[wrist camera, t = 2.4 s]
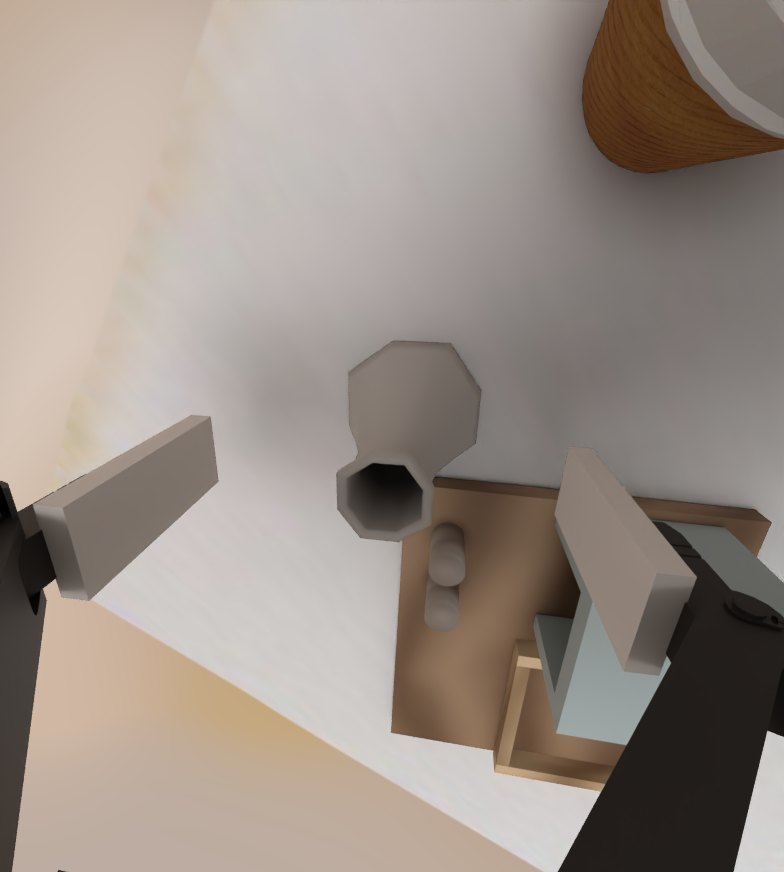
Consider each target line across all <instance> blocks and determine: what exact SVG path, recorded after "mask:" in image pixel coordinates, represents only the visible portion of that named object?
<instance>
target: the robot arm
mask: <svg viewBox="0 0 784 872" xmlns="http://www.w3.org/2000/svg"><path fill="white" fill-rule="evenodd" d="M217 482H218V473H217V465H216V457H215V448H214V440H213V432H212V424H211V417H209V416H197V415H191V416H189V417H187V418H185V419H183V420H182V421H180V422H178V423H176V424H175V425H173V426H171V427H169V428H168V429H166V430H164V431H162V432H160V433H159V434H157V435H155V436H153V437H152V438H150V439H148V440H146V441H144V442H143V443H141V444H139V445H137V446H136V447H134V448H132V449H130V450H128V451H127V452H125V453H123V454H121V455H120V456H118V457H116V458H114V459H113V460H111V461H109V462H107V463H105V464H104V465H102V466H100V467H98V468H97V469H95V470H93V471H91V472H89V473H88V474H85V475H83V476H81V477H79V478H77V479H76V480H74V481H72V482H70V483H69V484H68V485H65V486H63V487H61V488H60V489H58V490H57V491H56V492H52V493H51V494H49V495H47V496H45V497H44V498H42V499H40V500H38V501H36V502H35V503H33V504H31V505H29V506H28V507H26V508H24V509H22V510H20V511H19V512H17V510H16V507H15V504H14V501H13V497H12V494H11V492H10V488H9V485H8V483H5V482H3V481H0V872H12V866H13V858H14V851H15V842H16V835H17V827H18V820H19V812H20V803H21V796H22V787H23V781H24V773H25V764H26V757H27V749H28V741H29V734H30V726H31V718H32V709H33V702H34V695H35V687H36V679H37V670H38V663H39V656H40V648H41V640H42V632H43V624H44V616H45V608H46V601H47V600H46V597H45V594H44V591H43V588H44V587H45V586H47V585H48V584H49V583H50V582H52V581H53V580H54V579H56V581H57V584H58V587H59V590H60V594H61V597H63V598H71V599H79V600H86V601H89V600H90V599H91V598H93V597H94V596H95V595H96V594H97V593H98V592H99V591H100V590H101V589H102V588H103V587H105V586H106V585H107V584H108V583H109V582H110V581H111V580H112V579H113V578H114V577H115V576H116V575H118V574H119V573H120V572H121V571H122V570H123V569H124V568H125V567H126V566H127V565H128V564H129V563H131V562H132V561H133V560H134V559H135V558H136V557H137V556H138V555H139V554H140V553H141V552H143V551H144V550H145V549H146V548H147V547H148V546H149V545H150V544H151V543H152V542H153V541H154V540H156V539H157V538H158V537H159V536H160V535H161V534H162V533H163V532H164V531H165V530H166V529H167V528H169V527H170V526H171V525H172V524H173V523H174V522H175V521H176V520H177V519H178V518H179V517H181V516H182V515H183V514H184V513H185V512H186V511H187V510H188V509H189V508H190V507H191V506H192V505H194V504H195V503H196V502H197V501H198V500H199V499H200V498H201V497H202V496H203V495H204V494H205V493H207V492H208V491H209V490H210V489H211V488H212V487H213V486H214V485H215V484H216V483H217ZM554 515H555V517H556V519H557V522H558V524H559V526H560V528H561V531H562V533H563V535H564V537H565V540H566V542H567V544H568V547H569V549H570V551H571V553H572V556H573V558H574V560H575V563H576V565H577V567H578V569H579V572H580V574H581V576H582V578H583V581H584V583H585V585H586V588H587V590H588V592H589V594H590V597H591V599H592V601H593V603H594V606H595V608H596V610H597V613H598V615H599V617H600V619H601V622H602V624H603V626H604V628H605V631H606V633H607V635H608V638H609V640H610V642H611V644H612V647H613V649H614V651H615V653H616V656H617V658H618V660H619V663H620V665H621V667H622V669H623V671H624V672H632V673H639V674H647V675H654V676H659V675H660V672H661V670H662V667H663V664H664V662H665V659H666V657H668V659H669V660H670V662H671V664H670V666H669V668H668V670H667V671H666V673H665V675H664V677H663V679H662V681H661V682H660V684H659V686H658V688H657V690H656V692H655V694H654V695H653V697H652V699H651V701H650V703H649V705H648V706H647V708H646V710H645V712H644V714H643V716H642V718H641V719H640V721H639V723H638V725H637V727H636V729H635V730H634V732H633V734H632V736H631V738H630V740H629V741H628V743H627V745H626V747H625V749H624V751H623V753H622V754H621V756H620V758H619V760H618V762H617V764H616V765H615V767H614V769H613V771H612V773H611V775H610V777H609V778H608V780H607V782H606V784H605V786H604V788H603V789H602V791H601V793H600V795H599V797H598V799H597V801H596V802H595V804H594V806H593V808H592V810H591V812H590V813H589V815H588V817H587V819H586V821H585V823H584V825H583V826H582V828H581V830H580V832H579V834H578V836H577V837H576V839H575V841H574V843H573V845H572V847H571V848H570V850H569V852H568V854H567V856H566V858H565V860H564V861H563V863H562V865H561V867H560V869H559V871H558V872H733V871H734V867H735V863H736V859H737V855H738V851H739V846H740V842H741V838H742V834H743V830H744V826H745V821H746V817H747V813H748V809H749V805H750V801H751V796H752V792H753V788H754V784H755V780H756V776H757V772H758V767H759V763H760V759H761V755H762V751H763V747H764V742H765V738H766V734H767V731H770V732H772V733H775V734H778V735H780V736H783V737H784V617H783V616H782V615H781V614H780V613H779V612H777V611H776V610H775V609H773V608H772V607H771V606H769V605H768V604H766V603H764V602H762V601H760V600H758V599H757V598H755V597H752V596H750V595H747V594H744V593H741V592H738V591H733V590H731V589H730V588H729V587H728V586H727V584H726V583H725V582H724V581H723V580H722V579H721V578H720V577H719V575H718V574H717V573H716V572H715V571H714V570H713V569H712V568H711V566H710V565H709V564H708V563H707V562H706V561H705V560H704V559H702V558H701V557H702V556H701V555H700V554H699V553H698V552H697V551H696V550H695V549H694V548H692V545H691V544H690V543H689V542H688V541H687V539H686V538H685V537H684V536H683V535H682V534H681V533H680V532H678V531H677V530H675V529H674V528H672V527H670V526H669V525H667V524H666V523H664V522H658V521H651V520H650V519H649V518H648V517H647V515H646V514H645V513H644V512H643V510H642V509H641V508H640V507H639V506H638V504H637V503H636V502H635V501H634V499H633V498H632V497H631V496H630V495H629V493H628V492H627V491H626V490H625V488H624V487H623V486H622V485H621V483H620V482H619V481H618V480H617V479H616V477H615V476H614V475H613V474H612V472H611V471H610V470H609V469H608V468H607V466H606V465H605V464H604V463H603V461H602V460H601V459H600V458H599V456H598V455H597V454H596V453H595V452H594V450H593V449H592V448H581V447H569V449H568V454H567V459H566V463H565V468H564V473H563V477H562V482H561V486H560V491H559V496H558V500H557V505H556V510H555V514H554ZM58 872H65V871H60V870H58Z"/></svg>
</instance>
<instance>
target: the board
mask: <svg viewBox="0 0 784 872" xmlns="http://www.w3.org/2000/svg"><path fill="white" fill-rule="evenodd" d="M432 483H433V485H434V495H433V510H432V522H431V525H430V526H428V527H427V528H425V529H423V530H421V531H419V532H417V533H415V534H413V535H411V536H409V537H407V538H405V539H403V548H402V564H401V581H400V597H399V613H398V629H397V645H396V661H395V677H394V693H393V709H392V726H391V733H396V734H402V735H407V736H413V737H419V738H425V739H430V740H436V741H442V742H447V743H453V744H459V745H465V746H470V747H476V748H482V749H487V750H493V759H494V772H496V773H501V774H507V775H512V776H518V777H524V778H529V779H535V780H540V781H546V782H551V783H557V784H562V785H568V786H573V787H579V788H585V789H590V790H596V791H602V789H603V788H604V786H605V784H606V782H607V780H608V778H609V777H610V775H611V773H612V771H613V769H614V767H615V765H616V764H617V762H618V760H619V758H620V756H621V754H622V753H623V751H624V749H625V747H626V745H623V744H617V743H611V742H605V741H599V740H593V739H587V738H581V737H575V736H569V735H563V734H557V733H556V730H555V726H554V721H553V716H552V712H551V707H550V703H549V698H548V693H547V689H546V684H545V679H544V675H543V670H542V666H541V661H540V656H539V652H538V647H537V642H536V638H535V633H534V628H533V626H534V621H535V616H536V614H540V615H547V616H555V617H562V618H569V619H574V617H575V613H576V609H577V606H578V602H579V598H580V594H581V591H580V589H579V586H578V584H577V581H576V578H575V576H574V573H573V571H572V568H571V566H570V563H569V560H568V558H567V555H566V553H565V550H564V548H563V545H562V542H561V540H560V537H559V535H558V532H557V530H556V527H555V524H556V520H557V519H556V517H555V515H554V514H555V510H556V505H557V500H558V496H559V491H560V490H557V489H547V488H538V487H528V486H518V485H508V484H499V483H489V482H479V481H469V480H459V479H450V478H440V477H434V479H433V480H432ZM632 498H633V499H634V501H635V502H636V503H637V504H638V506H639V507H640V508H641V509H642V510H643V512H644V513H645V514H646V515H647V517H648V518H649V519H650V520H659V521H669V522H678V523H687V524H696V525H706V526H715V527H724V528H726V529H727V530H728V531H729V532H730V533H731V534H732V535H734V536H735V537H736V538H737V539H738V540H739V541H740V542H741V543H742V544H743V545H744V546H745V547H746V548H747V549H748V550H749V551H750V552H751V553H752V554H753V555H755V556H756V557H757V555H758V552H759V550H760V548H761V545H762V543H763V541H764V539H765V536H766V534H767V532H768V529H769V527H770V525H771V523H772V522H770V521H769V520H768V519H766V518H765V517H764V516H763V515H761V514H760V513H759V512H758V511H756V510H753V509H743V508H733V507H723V506H714V505H704V504H694V503H684V502H675V501H665V500H655V499H645V498H635V497H632Z"/></svg>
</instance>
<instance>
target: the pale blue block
mask: <svg viewBox="0 0 784 872" xmlns="http://www.w3.org/2000/svg"><path fill="white" fill-rule="evenodd" d="M651 521H658V522H664V523H666V524H667V525H669V526H670V527H672V528H674V529H675V530H677V531H678V532H680V533H681V534H682V535H683V536H684V537H685V538H686V539H687V541H688V542H689V543H690V544H691V545H692V548H694V549H695V550H696V551H697V552H698V553H699V554H700V555H701V556H702V557H701V558H702V559H704V560H705V561H706V562H707V563H708V564H709V565H710V566H711V568H712V569H713V570H714V571H715V572H716V573H717V574H718V575H719V577H720V578H721V579H722V580H723V581H724V582H725V583H726V584H727V586H728V587H729V588H730V589H731V590H733V591H738V592H741V593H744V594H747V595H750V596H752V597H755V598H757V599H758V600H760V601H762V602H764V603H766V604H768V605H769V606H771V607H772V608H773V609H775V610H776V611H777V612H779V613H780V614H781V615H782V616H783V617H784V583H783V582H782V581H781V580H780V579H779V578H778V577H777V576H776V575H774V574H773V573H772V572H771V571H770V570H769V569H768V568H767V567H766V566H765V565H764V564H763V563H762V562H761V561H760V560H759V559H758V558H757V557H756V556H755V555H753V554H752V553H751V552H750V551H749V550H748V549H747V548H746V547H745V546H744V545H743V544H742V543H741V542H740V541H739V540H738V539H737V538H736V537H735V536H734V535H732V534H731V533H730V532H729V531H728V530H727V529H726V528H724V527H715V526H706V525H696V524H687V523H678V522H669V521H659V520H651ZM555 527H556V530H557V532H558V535H559V537H560V540H561V542H562V545H563V548H564V550H565V553H566V555H567V558H568V560H569V563H570V566H571V568H572V571H573V573H574V576H575V578H576V581H577V584H578V586H579V589H580V591H581V594H580V598H579V602H578V606H577V609H576V613H575V617H574V619H569V618H562V617H555V616H547V615H540V614H536V616H535V621H534V626H533V628H534V633H535V638H536V642H537V647H538V652H539V656H540V661H541V666H542V670H543V675H544V679H545V684H546V689H547V693H548V698H549V703H550V707H551V712H552V716H553V721H554V726H555V730H556V733H557V734H563V735H569V736H575V737H581V738H587V739H593V740H599V741H605V742H611V743H617V744H623V745H627V743H628V741H629V740H630V738H631V736H632V734H633V732H634V730H635V729H636V727H637V725H638V723H639V721H640V719H641V718H642V716H643V714H644V712H645V710H646V708H647V706H648V705H649V703H650V701H651V699H652V697H653V695H654V694H655V692H656V690H657V688H658V686H659V684H660V682H661V681H662V679H663V677H664V675H665V673H666V671H667V670H668V668H669V666H670V664H671V662H670V660H669V659H668V657H666V659H665V662H664V664H663V667H662V670H661V672H660V675H659V676H654V675H647V674H639V673H632V672H624V671H623V669H622V667H621V665H620V663H619V660H618V658H617V656H616V653H615V651H614V649H613V647H612V644H611V642H610V640H609V638H608V635H607V633H606V631H605V628H604V626H603V624H602V622H601V619H600V617H599V615H598V613H597V610H596V608H595V606H594V603H593V601H592V599H591V597H590V594H589V592H588V590H587V588H586V585H585V583H584V581H583V578H582V576H581V574H580V572H579V569H578V567H577V565H576V563H575V560H574V558H573V556H572V553H571V551H570V549H569V547H568V544H567V542H566V540H565V537H564V535H563V533H562V531H561V528H560V526H559V524H558V522H557V520H556V524H555Z"/></svg>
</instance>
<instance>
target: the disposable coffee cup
mask: <svg viewBox="0 0 784 872" xmlns="http://www.w3.org/2000/svg"><path fill="white" fill-rule="evenodd" d="M582 103H583V110H584V117H585V122H586V125H587V128H588V132H589V134H590V136H591V137H592V139H593V141H594V142H595V144H596V146H597V147H598V149H599V150H600V151H601V152H602V153H603V154H604V155H605V156H606V157H607V158H608V159H609V160H610V161H612V162H614V163H615V164H617V165H618V166H620V167H623V168H626V169H628V170H631V171H634V172H645V173H654V172H663V171H668V170H672V169H677V168H683V167H688V166H694V165H699V164H704V163H710V162H715V161H722V160H726V159H733V158H737V157H743V156H748V155H754V154H760V153H764V152H770V151H776V150H780V149H784V0H609V3H608V7H607V9H606V12H605V15H604V18H603V21H602V23H601V27H600V30H599V32H598V35H597V38H596V41H595V43H594V46H593V49H592V52H591V54H590V57H589V59H588V63H587V67H586V71H585V76H584V80H583V94H582Z"/></svg>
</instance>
